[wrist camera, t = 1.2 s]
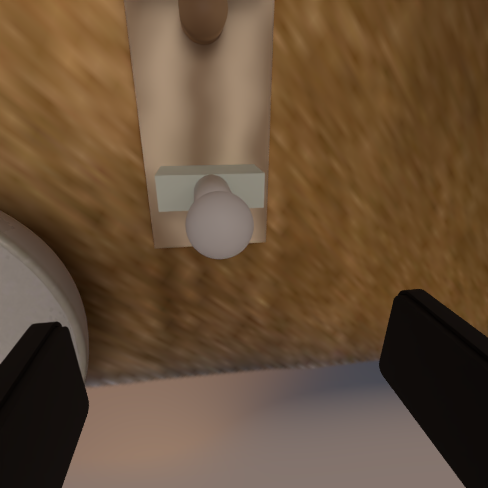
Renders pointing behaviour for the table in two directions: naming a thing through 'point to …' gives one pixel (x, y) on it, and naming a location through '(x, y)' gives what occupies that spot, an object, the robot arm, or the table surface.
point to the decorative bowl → (36, 290)
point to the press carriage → (213, 204)
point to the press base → (201, 98)
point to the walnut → (203, 19)
